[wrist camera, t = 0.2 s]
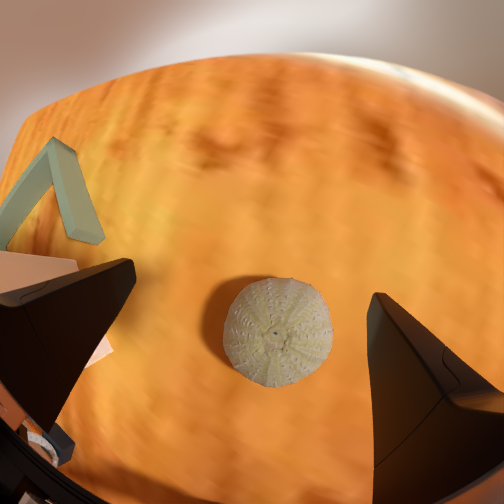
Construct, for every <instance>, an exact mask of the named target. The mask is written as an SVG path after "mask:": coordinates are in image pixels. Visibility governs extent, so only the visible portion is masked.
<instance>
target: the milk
mask: <svg viewBox="0 0 504 504" xmlns="http://www.w3.org/2000/svg"><path fill="white" fill-rule="evenodd" d="M76 271H79V268H78V265H77V262H76V260H75V259H66V258H57V257H48V256H39V255H31V254H23V253H15V252H7V251H0V293H4V292H8V291H12V290H16V289H19V288H23V287H27V286H30V285H34V284H37V283H40V282H44V281H47V280H51V279H53V278H57V277H60V276H63V275H66V274H70V273H73V272H76ZM111 352H113V349H112V347H111V345H110V343H109V341H108V339H107V337H106V335H104V337H103V339H102V340H101V342H100V343H99V345H98V347H97V348H96V350H95V351H94V353H93V355H92V356H91V358H90V360H89V361H88V363H87V365H86V366H85V368H87V367H88V366H90V365H92V364H93V363H95V362H97V361H98V360H100V359H101V358H103V357H105V356H106V355H108V354H110V353H111ZM85 368H84V369H85Z"/></svg>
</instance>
